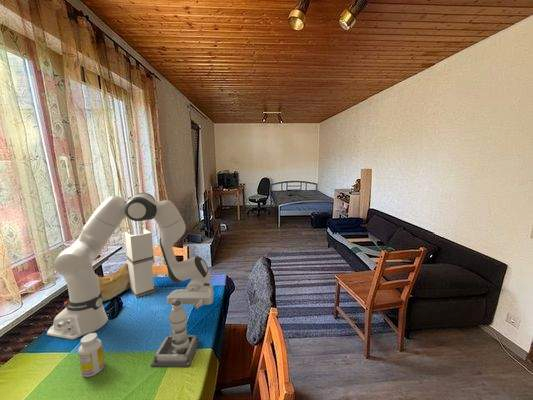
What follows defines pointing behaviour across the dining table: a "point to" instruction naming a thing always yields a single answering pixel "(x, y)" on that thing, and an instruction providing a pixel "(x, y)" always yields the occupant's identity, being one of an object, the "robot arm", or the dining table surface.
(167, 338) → the grey square tray
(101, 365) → the supplement bottle
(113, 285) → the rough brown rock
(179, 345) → the silver bottle
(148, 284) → the beige notched post
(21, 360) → the dining table surface
